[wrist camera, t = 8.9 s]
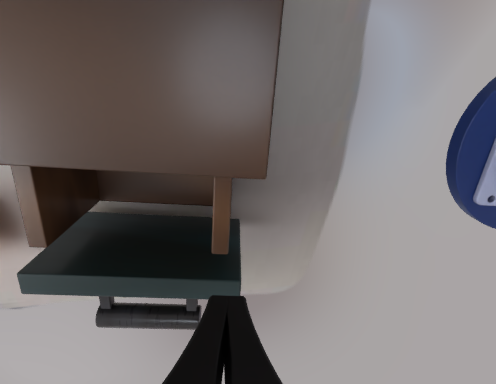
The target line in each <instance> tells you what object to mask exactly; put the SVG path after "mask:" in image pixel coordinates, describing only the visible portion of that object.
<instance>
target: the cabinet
mask: <svg viewBox="0 0 496 384" xmlns="http://www.w3.org/2000/svg"><path fill="white" fill-rule="evenodd" d="M283 4H284V0H0V165H14V166H31V167H49V168H67V169H85V170H103V171H121V172H139V173H157V174H175V175H192V176H210V177H228V178H246V179H266V176H267V165H268V155H269V145H270V135H271V125H272V115H273V105H274V95H275V85H276V75H277V65H278V55H279V45H280V35H281V24H282V14H283Z"/></svg>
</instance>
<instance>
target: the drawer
mask: <svg viewBox="0 0 496 384" xmlns="http://www.w3.org/2000/svg"><path fill="white" fill-rule="evenodd" d="M11 169H12V174H13V178H14V182H15V187H16V191H17V195H18V200H19V204H20V208H21V213H22V217H23V222H24V226H25V230H26V235H27V239H28V243H29V247H43V248H45V249H44V250H43V251H42V252H41V253H40V254H38V255H37V256H36V257H35V258H34V259H33V260H32V261H31V262H29V263H28V264H27V265H26V266H25V267H24V268H23V269H21V270H20V271H19V272H18V273H17V277H18V281H19V285H20V289H21V293H22V294H44V295H78V296H99V299H100V306H99V308H98V311H97V314H96V326H97V327H106V328H149V329H193V330H196V328H197V326H198V324H199V322H200V320H201V305H198V299H209V297H210V296H212V295H223V296H240V291H241V254H240V220H239V219H232V218H230V214H231V196H232V178H228V177H210V176H192V175H175V174H157V173H139V172H121V171H103V170H85V169H67V168H49V167H31V166H14V165H11ZM100 200H101V201H121V202H141V203H161V204H182V205H202V206H213V215H212V218H210V217H189V216H168V215H147V214H125V213H104V212H88V211H89V210H90V209H91V208H92V207H93V206H95V205H96V204H97V203H98V202H99V201H100ZM114 297H146V298H180V299H181V298H183V299H187V300H186V305H183V304H148V303H114Z"/></svg>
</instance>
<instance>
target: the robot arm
mask: <svg viewBox="0 0 496 384" xmlns="http://www.w3.org/2000/svg"><path fill="white" fill-rule="evenodd" d="M489 197H490V198H489ZM488 198H489V199H488ZM473 201H474V202H475V203H477V204H479V205H487V206H496V138H495V141H494V143H493V146H492V149H491V151H490V154H489V156H488V159H487V162H486V164H485V167H484V170H483V172H482V175H481V178H480V180H479V183H478V186H477V188H476V191H475V193H474V196H473ZM223 368H224V370H225V384H282V382H281V380H280V379H279V377H278V375H277V373H276V372H275V370H274V368H273V366H272V364H271V362H270V360H269V358H268V356H267V355H266V352H265V350H264V348H263V346H262V344H261V342H260V339H259V337H258V335H257V333H256V330H255V328H254V325H253V322H252V319H251V317H250V314H249V311H248V307H247V303H246V298H245V297H244V296H223V295H212V296H210V297H209V300H208V303H207V306H206V309H205V311H204V313H203V316H202V318H201V320H200V322H199V324H198V326H197V328H196V330H195V332H194V334H193V336H192V338H191V339H190V341H189V343H188V345H187V346H186V348H185V350H184V351H183V353H182V355H181V356H180V358H179V360H178V361H177V363H176V364H175V366H174V367H173V369H172V370H171V372H170V373H169V375H168V376H167V377H166V379H165V380H164V382H163V383H162V384H221V382H222V375H223Z"/></svg>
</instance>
